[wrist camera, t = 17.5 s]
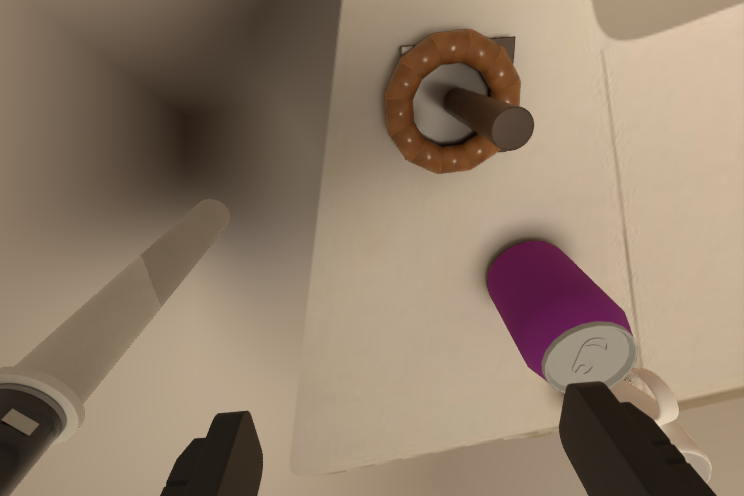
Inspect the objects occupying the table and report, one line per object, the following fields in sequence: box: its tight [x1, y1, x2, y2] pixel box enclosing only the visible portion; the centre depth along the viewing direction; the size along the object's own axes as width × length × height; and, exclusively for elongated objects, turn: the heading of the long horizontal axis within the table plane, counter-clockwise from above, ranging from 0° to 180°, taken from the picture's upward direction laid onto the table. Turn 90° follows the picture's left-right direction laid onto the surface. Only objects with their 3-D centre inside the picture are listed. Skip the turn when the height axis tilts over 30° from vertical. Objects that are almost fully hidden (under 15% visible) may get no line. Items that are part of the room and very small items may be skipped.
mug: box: [609, 368, 712, 483], centre depth 37 cm, size 12×8×11 cm
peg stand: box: [400, 36, 534, 160], centre depth 24 cm, size 8×8×13 cm
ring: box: [385, 29, 521, 174], centre depth 28 cm, size 10×10×2 cm
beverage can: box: [487, 241, 638, 393], centre depth 31 cm, size 8×8×12 cm
